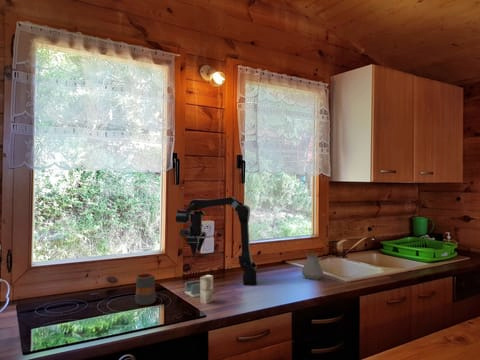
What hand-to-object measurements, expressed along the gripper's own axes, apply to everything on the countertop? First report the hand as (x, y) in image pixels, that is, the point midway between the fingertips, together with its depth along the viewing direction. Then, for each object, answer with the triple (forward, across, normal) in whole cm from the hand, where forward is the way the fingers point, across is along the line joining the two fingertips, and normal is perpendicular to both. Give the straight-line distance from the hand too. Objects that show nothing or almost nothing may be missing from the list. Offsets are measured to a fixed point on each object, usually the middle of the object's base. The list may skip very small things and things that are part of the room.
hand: (196, 253), depth 196 cm
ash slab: (+15, +30, +13) cm, 36 cm away
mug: (+15, +34, -14) cm, 39 cm away
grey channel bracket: (+15, +19, +6) cm, 25 cm away
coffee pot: (+15, -12, +63) cm, 66 cm away
